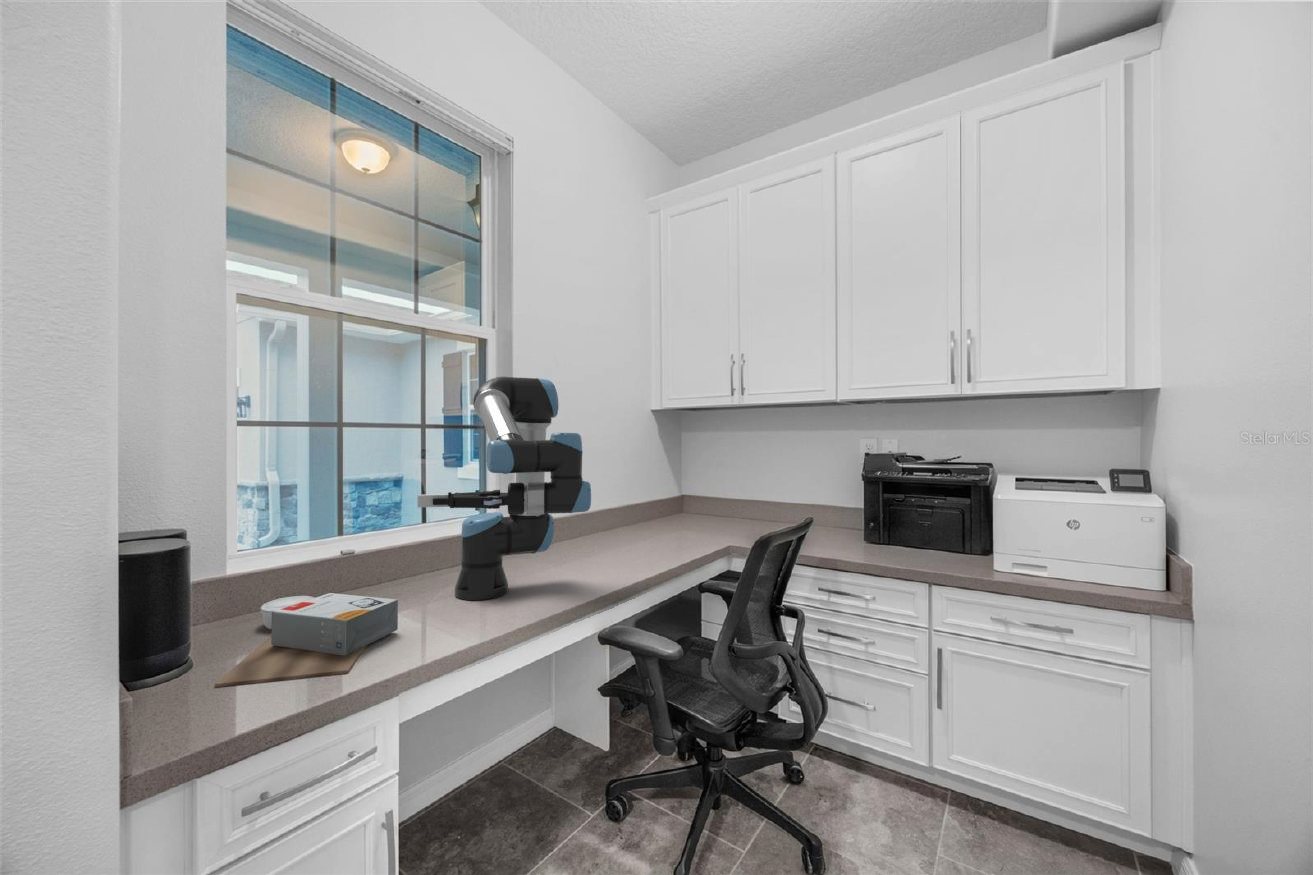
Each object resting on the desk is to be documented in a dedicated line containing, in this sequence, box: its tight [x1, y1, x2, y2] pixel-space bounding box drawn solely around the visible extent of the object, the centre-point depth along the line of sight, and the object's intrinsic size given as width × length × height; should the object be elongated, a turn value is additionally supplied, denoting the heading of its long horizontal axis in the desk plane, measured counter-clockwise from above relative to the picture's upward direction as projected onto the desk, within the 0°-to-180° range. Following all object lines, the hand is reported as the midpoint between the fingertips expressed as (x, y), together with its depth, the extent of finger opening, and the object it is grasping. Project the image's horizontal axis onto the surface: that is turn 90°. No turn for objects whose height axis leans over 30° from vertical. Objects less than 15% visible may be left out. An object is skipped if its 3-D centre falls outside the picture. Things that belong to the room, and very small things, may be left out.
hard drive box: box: [270, 592, 399, 656], centre depth 118 cm, size 16×8×20 cm
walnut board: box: [214, 635, 367, 688], centre depth 111 cm, size 22×24×1 cm
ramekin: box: [260, 595, 315, 630], centre depth 129 cm, size 11×11×5 cm
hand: (418, 501), depth 118 cm, fingers closed
